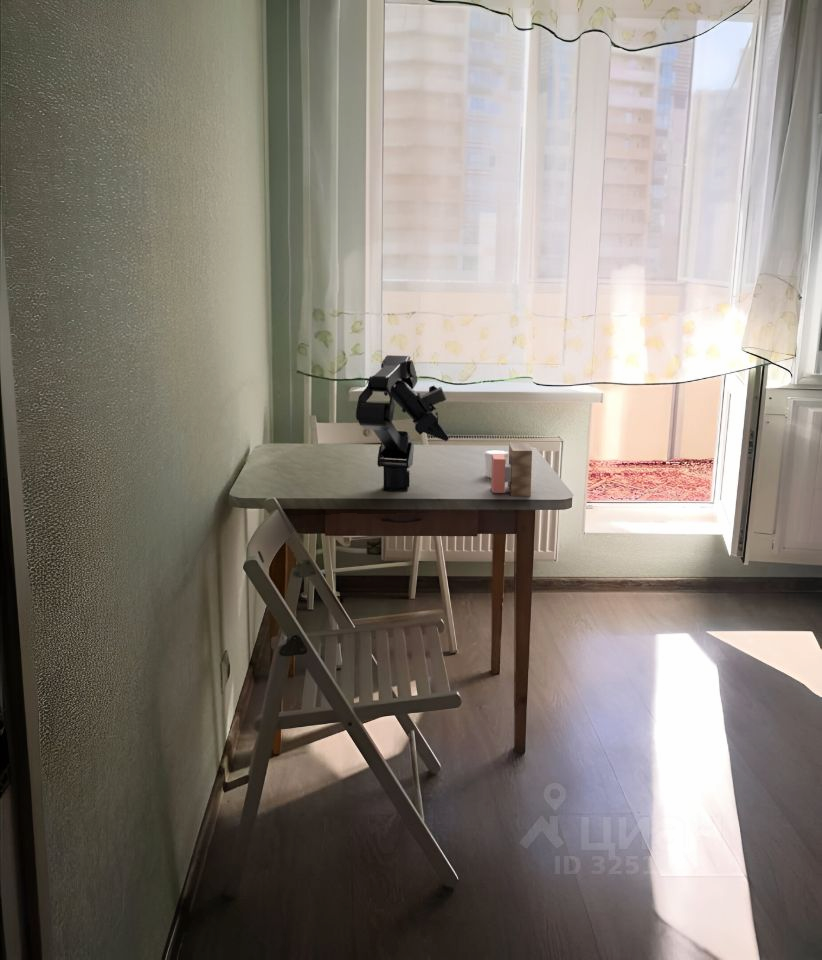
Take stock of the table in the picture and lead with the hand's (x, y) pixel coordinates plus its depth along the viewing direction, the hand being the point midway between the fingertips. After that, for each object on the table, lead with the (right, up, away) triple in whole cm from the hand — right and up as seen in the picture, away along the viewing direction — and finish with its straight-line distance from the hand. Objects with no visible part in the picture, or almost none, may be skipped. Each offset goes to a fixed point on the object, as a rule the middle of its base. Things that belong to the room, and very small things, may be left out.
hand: (447, 439), depth 247 cm
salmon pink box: (+16, -13, -3) cm, 21 cm away
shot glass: (+14, -10, +14) cm, 22 cm away
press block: (+19, -14, -3) cm, 23 cm away
